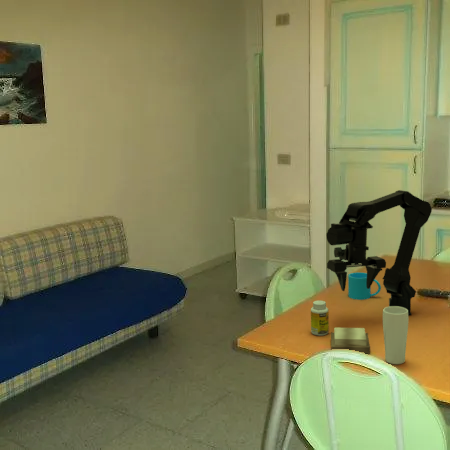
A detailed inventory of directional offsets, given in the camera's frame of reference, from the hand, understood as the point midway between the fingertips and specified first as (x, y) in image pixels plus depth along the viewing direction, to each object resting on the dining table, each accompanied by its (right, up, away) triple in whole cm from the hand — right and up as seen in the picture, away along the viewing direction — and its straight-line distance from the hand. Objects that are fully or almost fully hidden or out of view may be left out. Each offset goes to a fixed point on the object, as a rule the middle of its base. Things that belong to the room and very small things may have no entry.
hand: (355, 289), depth 190 cm
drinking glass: (+5, -17, -27) cm, 33 cm away
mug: (+10, -6, +29) cm, 31 cm away
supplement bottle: (-12, -14, -4) cm, 19 cm away
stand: (-5, -15, -15) cm, 22 cm away
